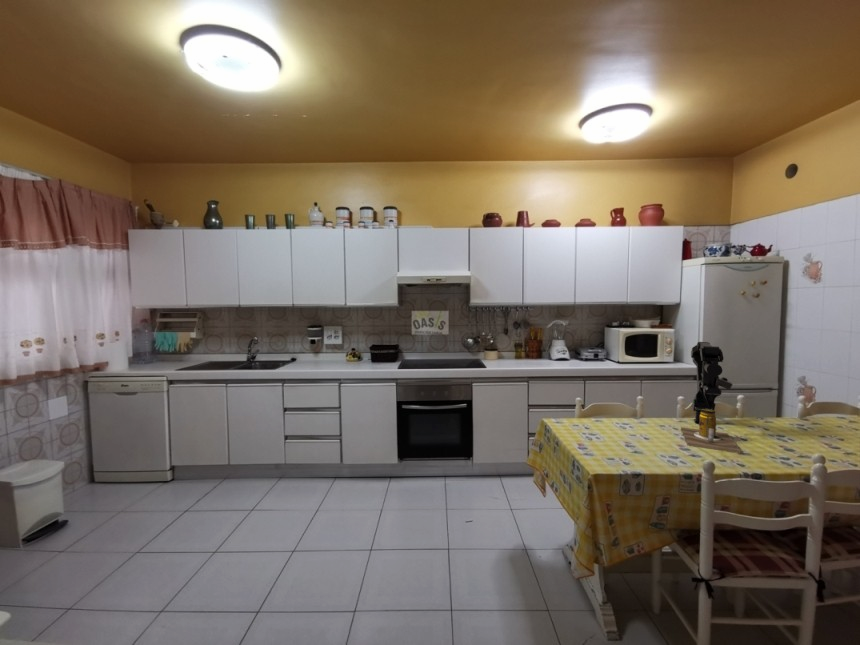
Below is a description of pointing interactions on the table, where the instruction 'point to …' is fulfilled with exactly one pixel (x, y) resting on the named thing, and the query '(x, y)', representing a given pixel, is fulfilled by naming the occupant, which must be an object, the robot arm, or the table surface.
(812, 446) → the table surface
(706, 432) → the condiment
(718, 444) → the locating plate
